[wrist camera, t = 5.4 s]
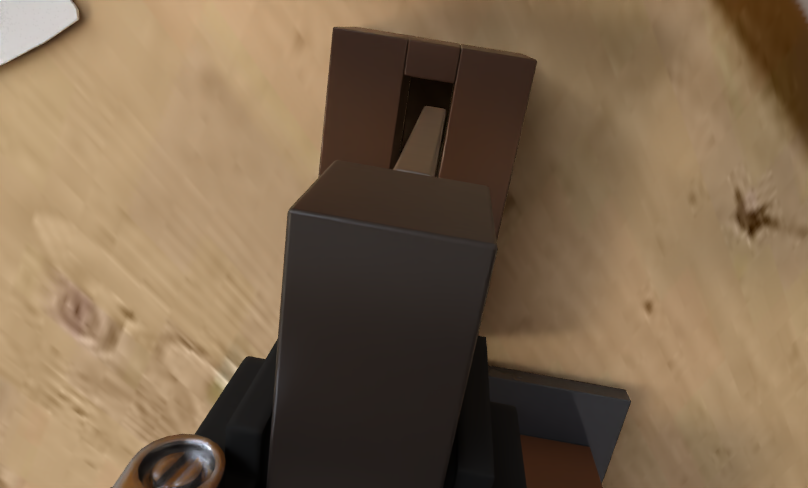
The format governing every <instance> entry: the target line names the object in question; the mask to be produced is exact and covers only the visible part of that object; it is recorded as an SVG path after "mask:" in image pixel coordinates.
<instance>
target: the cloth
mask: <svg viewBox="0 0 808 488" xmlns="http://www.w3.org/2000/svg"><path fill="white" fill-rule="evenodd" d="M78 20H79V10H78V7H77V6H76V5H75V3H74V2H73V1H72V0H0V65H3V64H6V63H8V62H9V61H11V60H13V59H15V58H17V57H19V56H21V55H23V54H25V53H27V52H29V51H30V50H32V49H34V48H36V47H38V46H40V45H42V44H44V43H46V42H47V41H49V40H50V39H52V38H53V37H55V36H56V35H58V34H59V33H60V32H62V31H63V30H65V29H66V28H68V27H69V26H71V25H72V24H74V23H75V22H77V21H78Z"/></svg>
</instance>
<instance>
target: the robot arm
mask: <svg viewBox="0 0 808 488" xmlns="http://www.w3.org/2000/svg"><path fill="white" fill-rule="evenodd" d="M277 345H278V339H277V341H276V343H275V344H274V346H273V348H272V349H271V351H270V353H269V354H268V356H267V358H266V359H261V358H256V357H250V356H248V357H246V358H245V359H244V360H243V361H242V363H241V365H240V366H239V368H238V369H237V371H236V372H235V374H234V375H233V377H232V378H231V380H230V381H229V383H228V384H227V386H226V387H225V389H224V390H223V392H222V393H221V395H220V397H219V398H218V400H217V401H216V403H215V404H214V406H213V407H212V409H211V410H210V412H209V413H208V415H207V416H206V418H205V419H204V421H203V422H202V424H201V425H200V427H199V429H198V430H197V432H196V433H195V435H192V434H179V435H172V436H167V437H164V438H161V439H159V440H156V441H153V442H152V443H150V444H148V445H147V446H145V447H144V448H142V449H141V450H140V451H139V452H138V453H137V454H136V455H135V456H134V457H133V458H132V460H131V461H130V462H129V464H128V465H127V467H126V468H125V470H124V471H123V473H122V474H121V475H120V477H119V478H118V480H117V481H116V483H115V484H114V486H113V487H111V488H267V475H268V462H269V449H270V436H271V423H272V410H273V397H274V384H275V371H276V358H277ZM443 488H527V485H526V477H525V470H524V462H523V454H522V446H521V438H520V431H519V423H518V415H517V410H516V407H515V406H513V405H507V404H502V403H497V402H491V401H490V393H489V376H488V360H487V343H486V337H482V336H478V337H477V342H476V346H475V350H474V355H473V359H472V363H471V368H470V372H469V377H468V381H467V385H466V390H465V394H464V398H463V403H462V407H461V411H460V416H459V420H458V424H457V429H456V433H455V438H454V442H453V446H452V451H451V455H450V459H449V464H448V468H447V472H446V477H445V481H444V485H443Z"/></svg>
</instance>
